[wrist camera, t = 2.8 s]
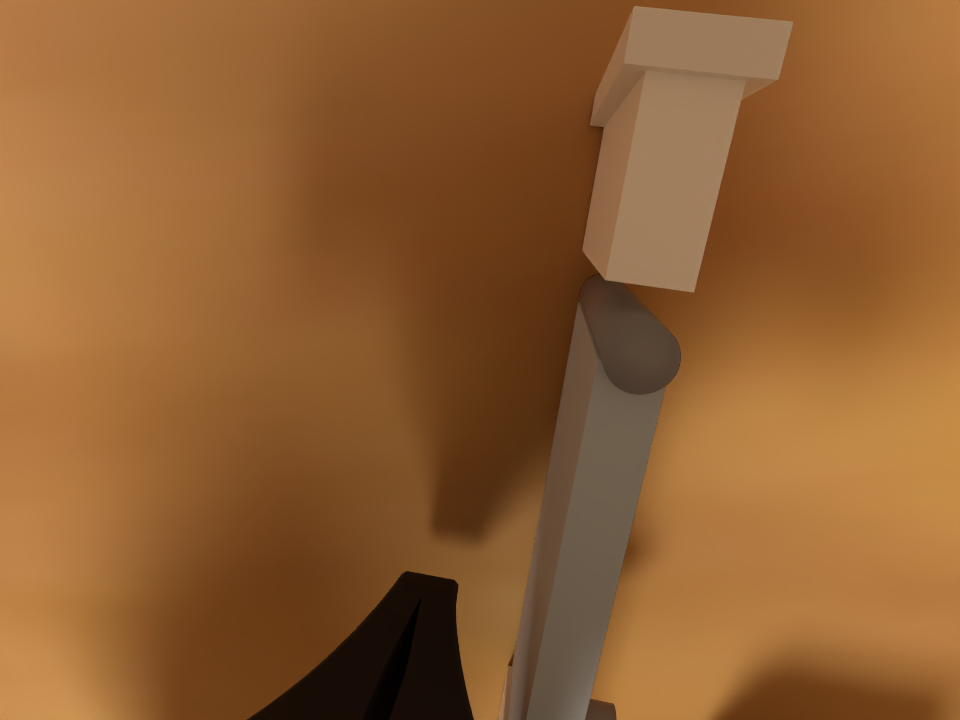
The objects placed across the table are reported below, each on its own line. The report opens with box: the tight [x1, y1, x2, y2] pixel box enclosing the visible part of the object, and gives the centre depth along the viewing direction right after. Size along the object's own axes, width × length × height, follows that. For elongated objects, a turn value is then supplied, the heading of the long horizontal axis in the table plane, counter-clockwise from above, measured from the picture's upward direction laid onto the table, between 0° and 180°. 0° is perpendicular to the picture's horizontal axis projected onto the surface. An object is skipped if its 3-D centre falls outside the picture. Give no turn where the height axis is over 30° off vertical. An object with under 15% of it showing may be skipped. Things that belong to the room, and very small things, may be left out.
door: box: [508, 274, 681, 720], centre depth 11 cm, size 11×2×5 cm, turn 174°
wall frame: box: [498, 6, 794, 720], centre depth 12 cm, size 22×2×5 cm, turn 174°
